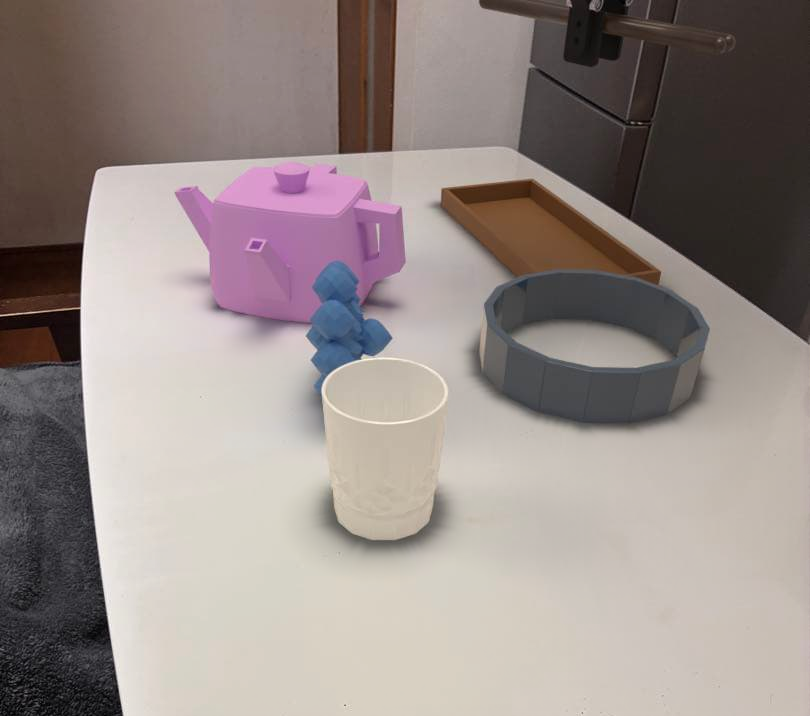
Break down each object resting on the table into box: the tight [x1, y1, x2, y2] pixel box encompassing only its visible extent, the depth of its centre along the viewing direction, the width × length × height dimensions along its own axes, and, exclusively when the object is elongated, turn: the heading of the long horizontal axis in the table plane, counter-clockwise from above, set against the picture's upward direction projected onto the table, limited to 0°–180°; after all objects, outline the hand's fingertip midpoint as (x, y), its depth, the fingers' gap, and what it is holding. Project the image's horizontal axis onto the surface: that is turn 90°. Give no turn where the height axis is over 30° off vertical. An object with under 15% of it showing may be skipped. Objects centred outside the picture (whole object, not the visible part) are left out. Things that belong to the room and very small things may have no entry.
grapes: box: [305, 261, 393, 397], centre depth 66 cm, size 12×7×12 cm, turn 0°
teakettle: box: [174, 161, 407, 324], centre depth 81 cm, size 17×17×12 cm
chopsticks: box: [478, 0, 736, 56], centre depth 71 cm, size 3×24×1 cm, turn 47°
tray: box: [440, 178, 662, 286], centre depth 94 cm, size 28×12×2 cm, turn 21°
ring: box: [478, 269, 711, 424], centre depth 74 cm, size 19×19×5 cm
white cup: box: [321, 356, 450, 541], centre depth 56 cm, size 8×8×10 cm
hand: (591, 58), depth 73 cm, fingers closed on chopsticks, 2 cm apart
